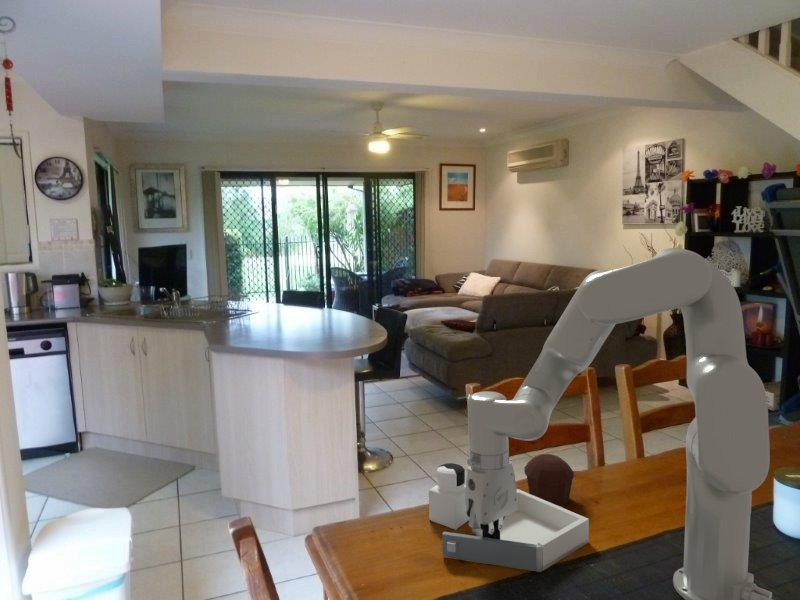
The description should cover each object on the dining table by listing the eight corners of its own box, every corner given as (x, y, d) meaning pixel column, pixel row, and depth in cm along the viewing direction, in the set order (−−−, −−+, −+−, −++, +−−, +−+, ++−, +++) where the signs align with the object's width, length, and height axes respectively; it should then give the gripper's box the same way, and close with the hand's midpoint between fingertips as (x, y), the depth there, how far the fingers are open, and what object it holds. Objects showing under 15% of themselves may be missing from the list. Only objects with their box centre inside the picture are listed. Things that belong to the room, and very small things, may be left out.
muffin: (583, 507, 128) (583, 464, 127) (537, 513, 126) (537, 470, 125) (558, 485, 140) (558, 446, 139) (516, 489, 138) (516, 450, 137)
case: (588, 542, 114) (588, 518, 113) (542, 570, 104) (542, 545, 104) (517, 510, 128) (517, 488, 127) (472, 532, 118) (471, 509, 118)
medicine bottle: (447, 508, 129) (446, 457, 128) (473, 517, 125) (473, 465, 123) (428, 520, 124) (427, 468, 122) (455, 530, 119) (455, 476, 118)
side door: (542, 568, 104) (542, 545, 104) (541, 575, 102) (541, 551, 102) (443, 553, 110) (443, 531, 110) (441, 560, 108) (440, 537, 107)
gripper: (475, 474, 100) (478, 572, 102) (530, 452, 109) (532, 542, 111) (446, 462, 106) (450, 555, 108) (500, 442, 115) (503, 528, 117)
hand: (491, 548), depth 109 cm, fingers closed
